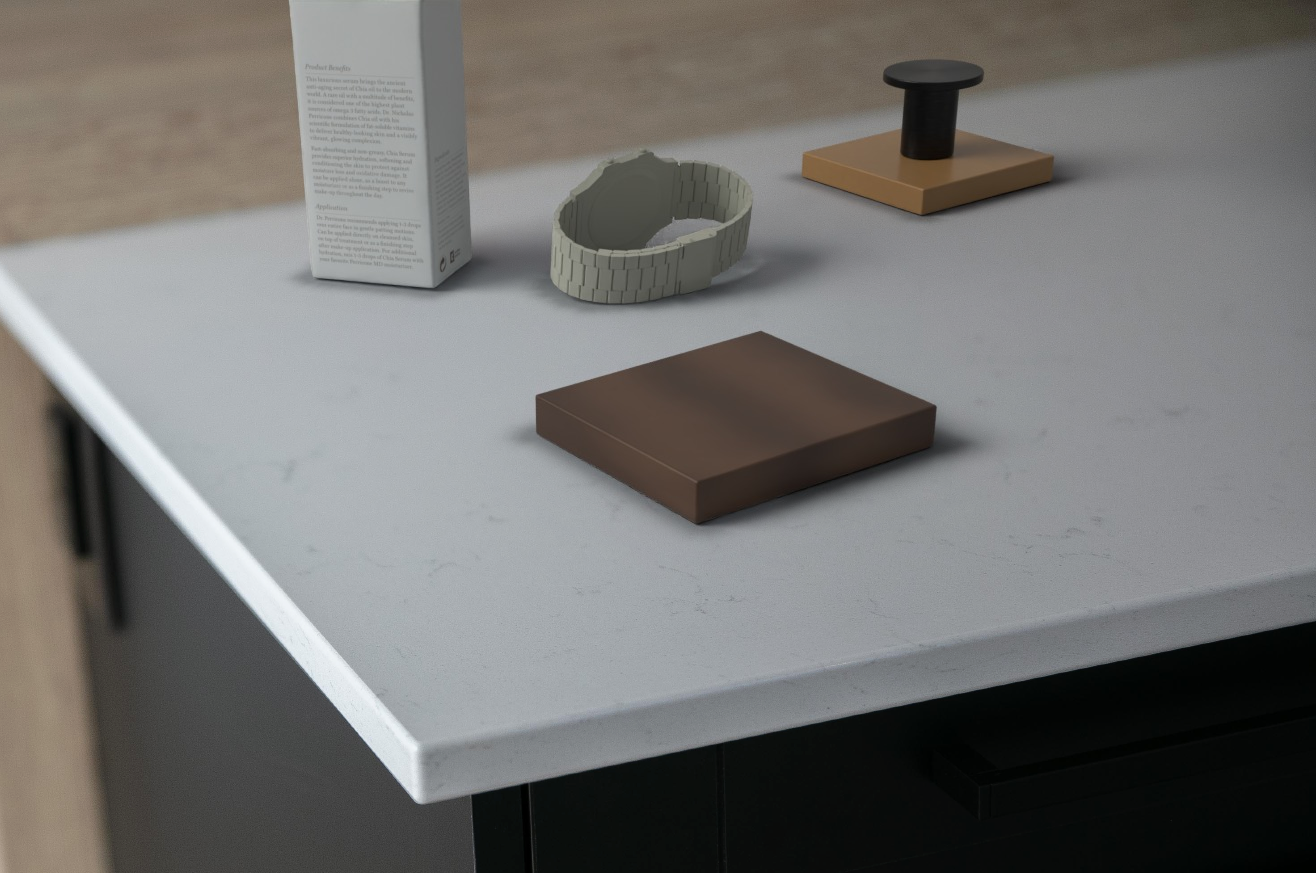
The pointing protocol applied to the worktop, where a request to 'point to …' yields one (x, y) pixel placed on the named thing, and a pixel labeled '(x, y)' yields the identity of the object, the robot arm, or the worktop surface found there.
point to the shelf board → (733, 424)
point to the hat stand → (928, 149)
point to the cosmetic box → (383, 138)
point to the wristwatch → (648, 228)
